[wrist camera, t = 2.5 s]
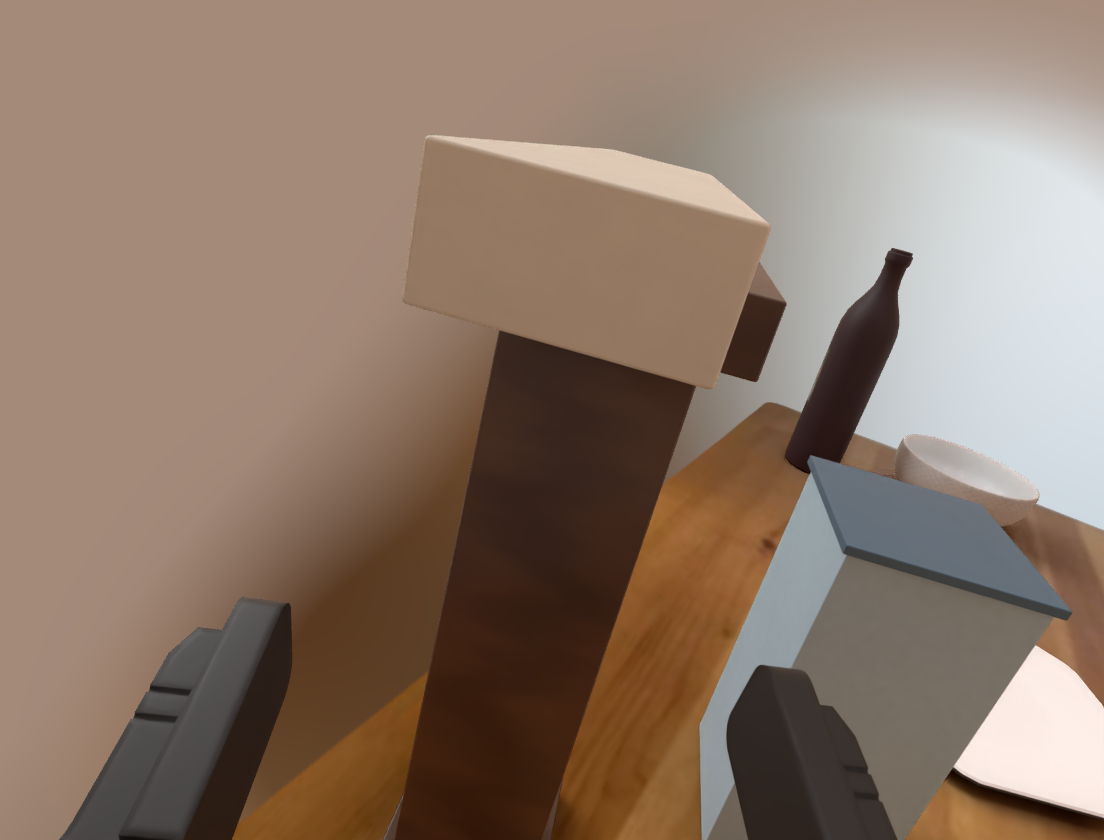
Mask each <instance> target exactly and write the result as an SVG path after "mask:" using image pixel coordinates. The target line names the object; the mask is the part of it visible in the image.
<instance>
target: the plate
mask: <svg viewBox="0 0 1104 840" xmlns="http://www.w3.org/2000/svg"><path fill="white" fill-rule="evenodd" d="M952 770H953V771H955V772H956V773H957V774H958V775H960V776H961V777H963V778H965V779H967V780H969V781H970V782H972V783H974V784H976V785H978V786H981V787H985V788H989V789H992V790H996V791H999V792H1003V793H1007V794H1010V795H1014V796H1018V797H1021V798H1025V799H1028V800H1032V801H1036V802H1039V803H1043V804H1046V805H1050V806H1054V807H1057V808H1061V809H1065V810H1068V811H1072V812H1075V813H1079V814H1083V815H1086V816H1090V817H1093V818H1097V819H1101V820H1104V707H1103V705H1102V704H1101V703H1100V702H1099V701H1098V699H1097V698H1096V697H1095V696H1094V694H1093V693H1092V692H1091V691H1090V690H1089V688H1088V687H1087V686H1086V685H1085V683H1084V682H1083V681H1082V680H1081V678H1080V677H1079V676H1078V675H1077V674H1076V673H1075V672H1074V671H1073V670H1072V669H1071V668H1069V667H1068V666H1067V665H1066V664H1065V663H1063V662H1061V661H1060V660H1058V659H1057V658H1055V657H1053V656H1052V655H1050V654H1049V653H1047V652H1045V651H1044V650H1042V649H1041V648H1039V647H1037V646H1036V645H1035V646H1034V648H1033V649H1032V651H1031V652H1030V654H1029V655H1028V657H1027V658H1026V660H1025V661H1024V663H1023V664H1022V666H1021V667H1020V669H1019V670H1018V672H1017V673H1016V675H1015V676H1014V678H1013V679H1012V681H1011V682H1010V683H1009V685H1008V686H1007V688H1006V689H1005V691H1004V692H1003V694H1002V695H1001V697H1000V698H999V700H998V701H997V703H996V704H995V706H994V707H993V709H992V710H991V712H990V713H989V715H988V716H987V718H986V719H985V721H984V722H983V724H982V725H981V727H980V728H979V730H978V731H977V733H976V734H975V735H974V737H973V738H972V740H971V741H970V743H969V744H968V746H967V747H966V749H965V750H964V752H963V753H962V755H961V756H960V758H959V759H958V761H957V762H956V764H955V765H954V767H953V768H952Z"/></svg>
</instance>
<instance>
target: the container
mask: <svg viewBox="0 0 1104 840" xmlns="http://www.w3.org/2000/svg"><path fill="white" fill-rule="evenodd" d="M807 463H808V465H809V468H810V470H811V473H810V475H809V477H808V480H807V482H806V484H805V486H804V489H803V491H802V493H801V495H800V498H799V500H798V502H797V505H796V507H795V509H794V511H793V514H792V516H791V518H790V520H789V523H788V525H787V527H786V530H785V532H784V534H783V536H782V539H781V541H780V543H779V546H778V548H777V550H776V552H775V555H774V557H773V559H772V561H771V564H770V566H769V568H768V571H767V573H766V575H765V577H764V580H763V582H762V584H761V586H760V589H759V591H758V593H757V596H756V598H755V600H754V602H753V605H752V607H751V609H750V612H749V614H748V616H747V618H746V621H745V623H744V625H743V627H742V630H741V632H740V634H739V637H738V639H737V641H736V643H735V646H734V648H733V650H732V652H731V655H730V657H729V659H728V662H727V664H726V666H725V668H724V671H723V673H722V675H721V678H720V680H719V682H718V684H717V687H716V689H715V691H714V693H713V696H712V698H711V700H710V703H709V705H708V707H707V709H706V712H705V714H704V716H703V718H702V721H701V723H700V725H699V729H700V779H701V829H702V840H748V837H747V833H746V829H745V824H744V820H743V816H742V811H741V807H740V803H739V798H738V794H737V790H736V786H735V781H734V777H733V773H732V768H731V764H730V760H729V755H728V750H727V743H726V731H727V723H728V718H729V715H730V713H731V711H732V709H733V708H734V706H735V704H736V702H737V700H738V699H739V697H740V695H741V693H742V691H743V690H744V688H745V686H746V684H747V682H748V681H749V679H750V677H751V675H752V674H753V672H754V670H755V669H756V667H757V666H759V665H768V666H776V667H784V668H792V669H800V670H803V671H804V672H806V673H807V675H808V676H809V678H810V680H811V682H812V684H813V687H814V690H815V692H816V695H817V698H818V700H819V703H820V705H826V706H833V707H834V709H835V710H836V711H837V713H838V714H839V715H840V717H841V718H842V719H843V720H844V722H845V723H846V724H847V726H848V727H849V728H850V730H851V731H852V732H853V733H854V735H855V736H856V739H857V741H858V744H859V746H860V749H861V751H862V754H863V756H864V758H865V761H866V763H867V766H868V773H869V774H871V776H872V778H873V781H874V783H875V785H876V788H877V790H878V793H879V801H881V802H882V803H883V805H884V808H885V810H886V813H887V815H888V817H889V820H890V822H891V825H892V827H893V830H894V832H895V835H896V837H897V840H905V838H906V837H907V835H908V834H909V832H910V831H911V829H912V828H913V826H914V825H915V823H916V822H917V820H918V819H919V817H920V816H921V814H922V813H923V811H924V810H925V808H926V807H927V805H928V804H929V802H930V801H931V799H932V798H933V796H934V795H935V793H936V792H937V790H938V789H939V788H940V786H941V785H942V783H943V782H944V780H945V779H946V777H947V776H948V774H949V773H950V771H951V770H952V768H953V767H954V765H955V764H956V762H957V761H958V759H959V758H960V756H961V755H962V753H963V752H964V750H965V749H966V747H967V746H968V744H969V743H970V741H971V740H972V738H973V737H974V735H975V734H976V733H977V731H978V730H979V728H980V727H981V725H982V724H983V722H984V721H985V719H986V718H987V716H988V715H989V713H990V712H991V710H992V709H993V707H994V706H995V704H996V703H997V701H998V700H999V698H1000V697H1001V695H1002V694H1003V692H1004V691H1005V689H1006V688H1007V686H1008V685H1009V683H1010V682H1011V681H1012V679H1013V678H1014V676H1015V675H1016V673H1017V672H1018V670H1019V669H1020V667H1021V666H1022V664H1023V663H1024V661H1025V660H1026V658H1027V657H1028V655H1029V654H1030V652H1031V651H1032V649H1033V648H1034V646H1035V645H1036V643H1037V642H1038V640H1039V639H1040V637H1041V636H1042V634H1043V633H1044V631H1045V630H1046V629H1047V627H1048V626H1049V624H1050V623H1051V621H1052V620H1053V618H1054V617H1056V618H1060V619H1063V620H1068V618H1069V617H1070V616H1071V614H1072V611H1071V610H1070V608H1069V607H1068V606H1067V605H1066V604H1065V602H1064V601H1063V600H1062V599H1061V598H1060V596H1059V595H1058V594H1057V593H1056V592H1055V591H1054V589H1053V588H1052V587H1051V586H1050V585H1049V583H1048V582H1047V581H1046V580H1045V579H1044V577H1043V576H1042V575H1041V574H1040V573H1039V572H1038V570H1037V569H1036V568H1035V567H1034V566H1033V564H1032V563H1031V562H1030V561H1029V560H1028V558H1027V557H1026V556H1025V555H1024V554H1023V553H1022V551H1021V550H1020V549H1019V548H1018V547H1017V545H1016V544H1015V543H1014V542H1013V541H1012V539H1011V538H1010V537H1009V536H1008V535H1007V534H1006V532H1005V531H1004V530H1003V529H1002V528H1001V526H1000V525H999V524H998V523H997V522H996V520H995V519H994V518H993V517H992V516H991V515H990V513H989V512H988V511H987V510H986V509H985V507H984V506H983V505H982V504H979V503H975V502H972V501H968V500H965V499H961V498H958V497H954V496H951V495H947V494H944V493H940V492H937V491H934V490H930V489H927V488H923V487H920V486H916V485H913V484H909V483H906V482H902V481H899V480H895V479H892V478H888V477H885V476H881V475H878V474H874V473H871V472H867V471H864V470H860V469H857V468H853V467H850V466H846V465H843V464H839V463H836V462H832V461H829V460H826V459H822V458H819V457H815V456H812V455H810V457H809V459H808V462H807Z"/></svg>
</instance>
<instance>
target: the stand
mask: <svg viewBox="0 0 1104 840" xmlns="http://www.w3.org/2000/svg"><path fill="white" fill-rule="evenodd" d="M785 307H786V301H785V300H784V298H783V297H782V296H781V294H780V292H779V291H778V289H777V288H776V287H775V285H774V283H773V282H772V280H771V279H770V277H769V276H768V275H767V273H766V271H765V270H764V269H763V267H762V265H761V264H760V262H759V263H758V266H757V269H756V272H755V275H754V278H753V280H752V283H751V286H750V289H749V292H748V295H747V297H746V300H745V303H744V306H743V309H742V312H741V314H740V317H739V320H738V323H737V326H736V329H735V331H734V334H733V337H732V340H731V343H730V346H729V348H728V351H727V354H726V357H725V360H724V363H723V365H722V368H721V371H720V372H721V373H724V374H728V375H732V376H735V377H739V378H742V379H746V380H749V381H753V382H757V381H758V378H759V376H760V373H761V371H762V368H763V365H764V363H765V360H766V357H767V355H768V352H769V350H770V347H771V344H772V342H773V339H774V336H775V334H776V331H777V329H778V326H779V323H780V321H781V318H782V315H783V313H784V310H785ZM695 388H696V386H695V385H691V384H688V383H684V382H680V381H677V380H673V379H670V378H666V377H663V376H659V375H656V374H652V373H649V372H645V371H642V370H638V369H634V368H631V367H627V366H624V365H620V364H617V363H613V362H610V361H606V360H603V359H599V358H595V357H592V356H588V355H585V354H581V353H578V352H574V351H571V350H567V349H564V348H560V347H557V346H553V345H549V344H546V343H542V342H539V341H535V340H532V339H528V338H525V337H521V336H518V335H514V334H510V333H507V332H503V331H500V330H499V333H498V338H497V343H496V348H495V353H494V357H493V362H492V367H491V372H490V377H489V382H488V387H487V391H486V396H485V401H484V406H483V411H482V416H481V421H480V425H479V430H478V435H477V440H476V445H475V449H474V454H473V459H472V464H471V469H470V474H469V479H468V484H467V488H466V493H465V498H464V503H463V508H462V513H461V517H460V522H459V527H458V532H457V537H456V542H455V547H454V551H453V557H452V561H451V566H450V571H449V576H448V581H447V586H446V591H445V595H444V601H443V605H442V610H441V615H440V620H439V624H438V629H437V634H436V639H435V644H434V649H433V654H432V659H431V663H430V668H429V673H428V678H427V683H426V687H425V692H424V697H423V702H422V707H421V712H420V717H419V721H418V726H417V731H416V736H415V741H414V746H413V751H412V755H411V760H410V765H409V770H408V775H407V780H406V785H405V789H404V793H403V796H402V798H401V800H400V802H399V805H398V807H397V809H396V811H395V813H394V816H393V818H392V820H391V822H390V825H389V827H388V829H387V831H386V834H385V836H384V838H383V840H551V836H552V831H553V826H554V821H555V816H556V811H557V806H558V801H559V796H560V791H561V786H562V781H563V775H564V772H565V769H566V766H567V763H568V761H569V758H570V755H571V752H572V749H573V746H574V743H575V740H576V737H577V734H578V731H579V728H580V725H581V722H582V719H583V717H584V714H585V711H586V708H587V705H588V702H589V699H590V696H591V693H592V690H593V687H594V684H595V681H596V678H597V675H598V672H599V670H600V667H601V664H602V661H603V658H604V655H605V652H606V649H607V646H608V643H609V640H610V637H611V634H612V631H613V628H614V626H615V623H616V620H617V617H618V614H619V611H620V608H621V605H622V602H623V599H624V596H625V593H626V590H627V587H628V584H629V582H630V579H631V576H632V573H633V570H634V567H635V564H636V561H637V558H638V555H639V552H640V549H641V546H642V543H643V540H644V538H645V535H646V532H647V529H648V526H649V523H650V520H651V517H652V514H653V511H654V508H655V505H656V502H657V499H658V496H659V494H660V491H661V488H662V485H663V482H664V479H665V476H666V472H667V470H668V467H669V464H670V461H671V458H672V455H673V452H674V449H675V447H676V443H677V441H678V438H679V435H680V432H681V429H682V426H683V423H684V420H685V417H686V414H687V411H688V408H689V405H690V403H691V400H692V397H693V394H694V391H695Z"/></svg>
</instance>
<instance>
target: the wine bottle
mask: <svg viewBox="0 0 1104 840" xmlns="http://www.w3.org/2000/svg"><path fill="white" fill-rule="evenodd" d="M912 255H913V254H912V253H909V252H906V251H903V250H899V249H895V248H892V249H891V251H888V253H887V256H886V258H885V265H884V267H883V269H882V272H881V274H880V276H879V278H878V280H877V281H876V283H875V284H874V286H873V287H872V288H871V289H870V290H869V291H868V292H867V293H866V294H864V295H863V296H862V297H861V298H860V299H859V300H857V301H856V302H855V303H854V304H853V305H852V306H851V307H850V308H849V309H848V310H847V312H846V313H845V315H844V316H843V317H842V319H841V321H840V323H839V325H838V327H837V329H836V332H835V334H834V336H833V339H832V341H831V344H830V346H829V348H828V351H827V353H826V356H825V358H824V360H823V363H822V365H821V368H820V370H819V372H818V375H817V377H816V380H815V382H814V384H813V387H812V389H811V392H810V394H809V396H808V399H807V401H806V404H805V406H804V408H803V411H802V413H801V416H800V418H799V420H798V423H797V425H796V428H795V430H794V432H793V435H792V437H791V440H790V442H789V444H788V447H787V449H786V454H785V456H786V458H787V460H788V461H789V462H790V463H792V464H793V465H794V466H796V467H798V468H799V469H801V470H803V471H806V472H808V473H811V470H810V468H809V465H808V463H807V462H808V459H809V457H810V455H812V456H815V457H819V458H822V459H826V460H829V461H832V462H836V463H839V464H840V462H841V460H842V458H843V456H844V453H845V451H846V449H847V447H848V445H849V442H850V440H851V438H852V436H853V434H854V431H855V429H856V427H857V425H858V423H859V420H860V418H861V416H862V414H863V412H864V409H865V407H866V405H867V403H868V401H869V398H870V396H871V394H872V392H873V390H874V388H875V385H876V383H877V381H878V379H879V377H880V374H881V372H882V370H883V368H884V366H885V363H886V361H887V359H888V357H889V355H890V353H891V350H892V348H893V345H894V343H895V340H896V338H897V334H898V329H899V309H898V290H899V286H900V283H901V280H902V277H903V275H904V273H905V271H906V268H908V267H909V266H910V264H911V262H912V259H913V257H912Z"/></svg>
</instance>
